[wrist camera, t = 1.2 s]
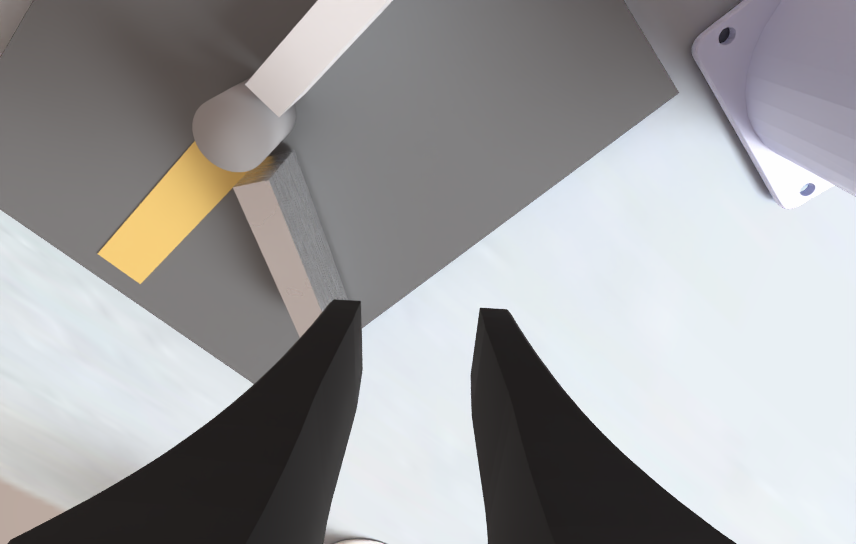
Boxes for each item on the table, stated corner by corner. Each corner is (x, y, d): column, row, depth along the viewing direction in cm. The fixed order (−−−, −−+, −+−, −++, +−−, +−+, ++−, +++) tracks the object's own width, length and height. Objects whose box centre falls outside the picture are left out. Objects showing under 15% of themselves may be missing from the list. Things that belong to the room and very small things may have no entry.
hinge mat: (330, -469, 11) (280, -669, 8) (669, 87, 17) (726, 116, 14) (-45, 158, 19) (-151, 199, 16) (275, 384, 25) (249, 448, 22)
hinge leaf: (262, 156, 18) (232, 187, 15) (294, 149, 17) (268, 180, 15) (329, 323, 22) (314, 370, 19) (355, 319, 21) (343, 366, 19)
